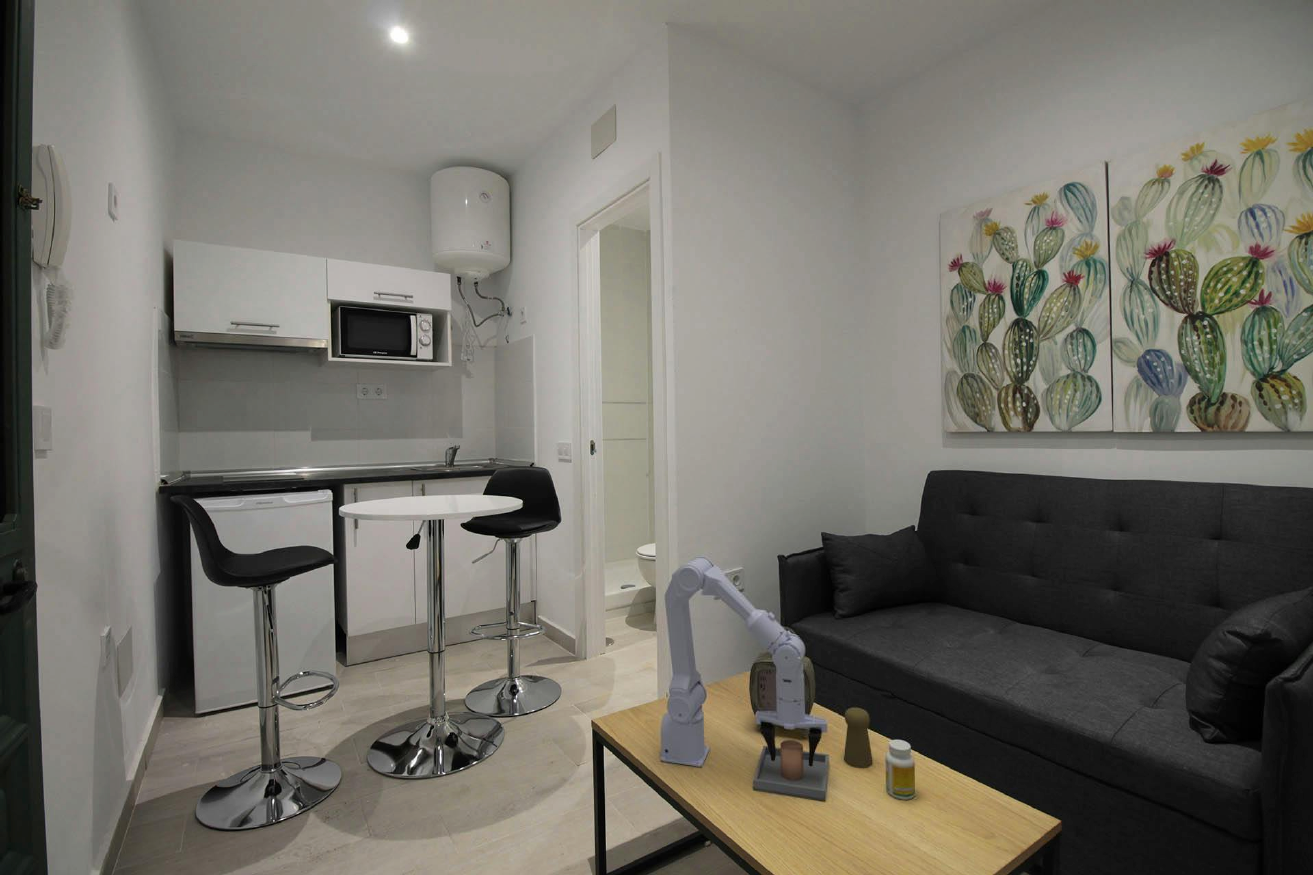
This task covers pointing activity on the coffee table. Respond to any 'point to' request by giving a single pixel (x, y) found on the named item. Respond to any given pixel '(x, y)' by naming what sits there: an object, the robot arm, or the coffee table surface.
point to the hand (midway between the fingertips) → (792, 760)
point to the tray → (806, 787)
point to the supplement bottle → (900, 770)
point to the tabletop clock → (765, 685)
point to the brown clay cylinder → (792, 760)
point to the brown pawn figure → (857, 739)
